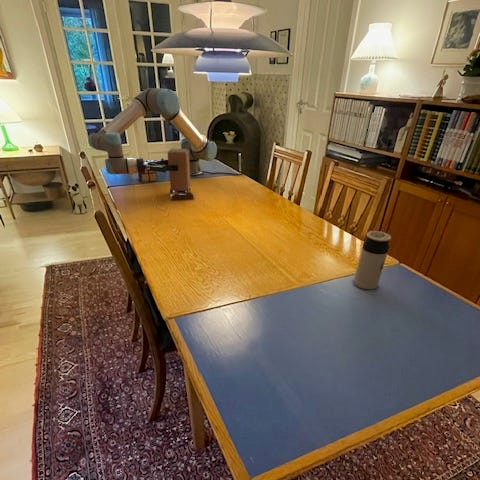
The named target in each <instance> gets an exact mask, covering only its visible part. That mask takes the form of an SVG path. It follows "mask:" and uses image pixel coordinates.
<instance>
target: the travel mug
mask: <svg viewBox="0 0 480 480" xmlns="http://www.w3.org/2000/svg"><path fill="white" fill-rule="evenodd" d="M391 240H392V236H391V235H390V234H389V233H387V232H384V231H379V230H370V231H368V232H367V233H366V239H365V240H364V242H363V243H362V247H361V252H360V256H359V259H358V263H357V267H356V271H355V275H354V279H353V283H354V285H355V286H356V287H358V288H361V289H363V290H374V289H377V288H378V285H379V282H380V278H381V275H382V272H383V269H384V266H385V262H386V259H387V256H388V252H389V249H390V244H389V242H390V241H391Z"/></svg>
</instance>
